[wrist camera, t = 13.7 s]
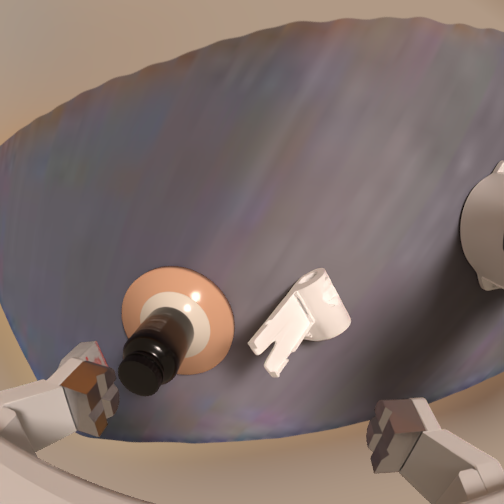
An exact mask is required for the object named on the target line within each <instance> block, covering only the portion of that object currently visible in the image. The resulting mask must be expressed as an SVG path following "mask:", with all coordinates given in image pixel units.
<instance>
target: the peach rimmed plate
mask: <svg viewBox="0 0 504 504" xmlns="http://www.w3.org/2000/svg"><path fill="white" fill-rule="evenodd" d="M160 307H172V308H175V309H178V310H180V311H181V312H183V313H184V314H185V315H186V316H187V317H188V318H189V320H190V321H191V323H192V325H193V328H194V338H193V341H192V343H191V346H190V348H189V350H188V352H187V354H186V356H185V358H184V360H183V362H182V364H181V366H180V368H179V370H178V372H177V374H185V375H190V374H198V373H202V372H205V371H208V370H210V369H212V368H213V367H215V366H216V365H218V364H219V363H220V362H221V361H222V360H223V359H224V358H225V356H226V355H227V353H228V351H229V349H230V347H231V343H232V340H233V337H234V330H235V322H234V315H233V312H232V309H231V306H230V304H229V302H228V300H227V298H226V297H225V295H224V294H223V292H222V291H221V290H220V289H219V288H218V287H217V286H216V285H215V284H214V283H213V282H212V281H211V280H209V279H208V278H207V277H205V276H204V275H202V274H200V273H198V272H196V271H194V270H191V269H188V268H184V267H179V266H163V267H159V268H155V269H152V270H150V271H148V272H146V273H145V274H143V275H142V276H141V277H139V278H138V279H137V280H136V281H134V283H133V284H132V285H131V286H130V287H129V289H128V291H127V292H126V295H125V297H124V300H123V304H122V320H123V325H124V329H125V332H126V334H127V336H128V338H130V337H131V335H132V334H133V333H134V332H135V331H136V330H137V328H138V327H139V326H140V325H141V324H142V322H143V321H144V320H145V319H146V318H147V317H148V316H149V314H150V313H151V312H152V311H154V310H155V309H157V308H160Z"/></svg>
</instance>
